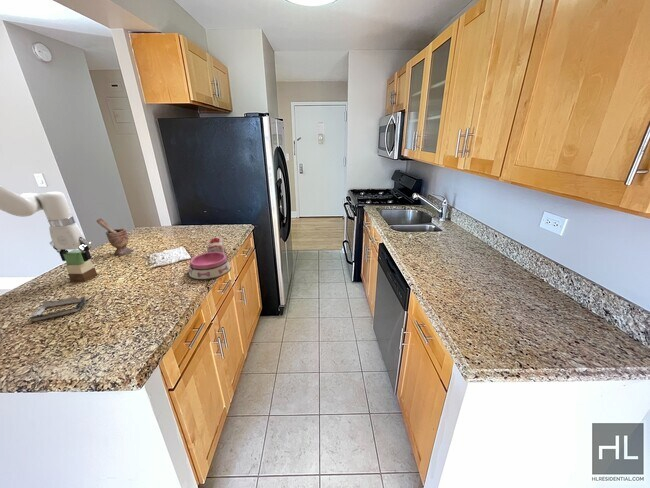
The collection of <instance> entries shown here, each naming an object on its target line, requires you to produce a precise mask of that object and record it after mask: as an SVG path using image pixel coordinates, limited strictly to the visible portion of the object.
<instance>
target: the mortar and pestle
mask: <svg viewBox="0 0 650 488" xmlns="http://www.w3.org/2000/svg"><path fill="white" fill-rule="evenodd" d="M96 223H97V224H98V225H99V226H100V227H102V228H104V229H105V230H107V231H106V232H105V235H106V237H107V240H108V242H109V244H110V245H111V246H112V247H114V248H116V249H115V251H114V255H115V256H118V257H119V256H124V255H125V256H126V255H129V254H130V253H132V250H131V248H129V247H128V246H127V245H128V243H129V235H128V233H127V229H126V228H112V227H111V226H110V225H109V224H108V223H107V222H106V220H104V219H103V218H98V219H97V220H96Z"/></svg>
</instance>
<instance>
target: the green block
mask: <svg viewBox="0 0 650 488" xmlns="http://www.w3.org/2000/svg"><path fill="white" fill-rule="evenodd" d="M81 253H82V252H81V251H80V250H79V249H72V250H71V251H68V253H66V254H63V255H64V258H65V260H66V261H65V263H66V265H80V264H82V263H84V262H86V261H84V260H83V257H82V255H81Z"/></svg>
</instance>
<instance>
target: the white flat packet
mask: <svg viewBox="0 0 650 488" xmlns="http://www.w3.org/2000/svg"><path fill="white" fill-rule="evenodd" d="M143 257H144V259H148V260H149V262H148V261H144V263H145V265H146V266H148V265H149V264H152V265H150V266H148V268H149V269H152V268H155V267H160V266H166V265H171V264H175V263H179V262H180V261H186V260H191V259H192V257H191V255H190V253H188V251H187V250H186V248H185V247H184V246H179V247H177V248H172V249H167V250H163V251H159V252H153V253H152V254H151V253H150V254H143ZM148 257H149V258H148Z"/></svg>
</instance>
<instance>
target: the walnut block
mask: <svg viewBox="0 0 650 488" xmlns="http://www.w3.org/2000/svg"><path fill="white" fill-rule="evenodd" d="M93 267H94V268H92V269H90V270H88V271H87V272H85V273H83V274H69V273H68V274H67V276H68V277H69V278H68V279H69V280H70V282H74V283H75V282H82V283H83V282H84V283H85V282H87V281H89V280H91V279H93V278H95V276H97V275H98V272H97V270H96V268H95V266H93Z"/></svg>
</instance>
